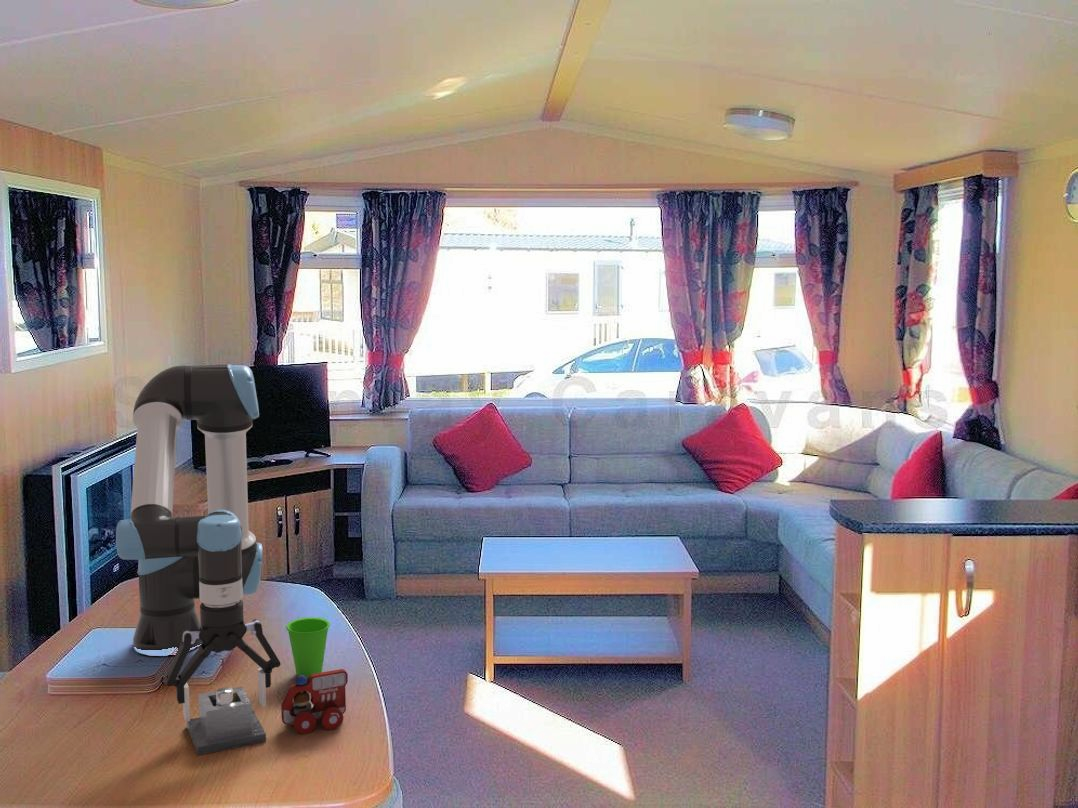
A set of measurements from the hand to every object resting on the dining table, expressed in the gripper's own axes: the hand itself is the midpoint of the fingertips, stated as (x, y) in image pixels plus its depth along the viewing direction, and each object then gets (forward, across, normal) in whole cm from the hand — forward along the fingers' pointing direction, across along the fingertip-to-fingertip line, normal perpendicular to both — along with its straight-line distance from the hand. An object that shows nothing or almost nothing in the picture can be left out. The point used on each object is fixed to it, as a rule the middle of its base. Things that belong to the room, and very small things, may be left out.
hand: (225, 711), depth 189 cm
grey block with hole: (+3, 0, 0) cm, 3 cm away
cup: (+5, +21, +20) cm, 29 cm away
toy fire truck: (+5, +16, -4) cm, 17 cm away
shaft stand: (+4, 0, 0) cm, 4 cm away
